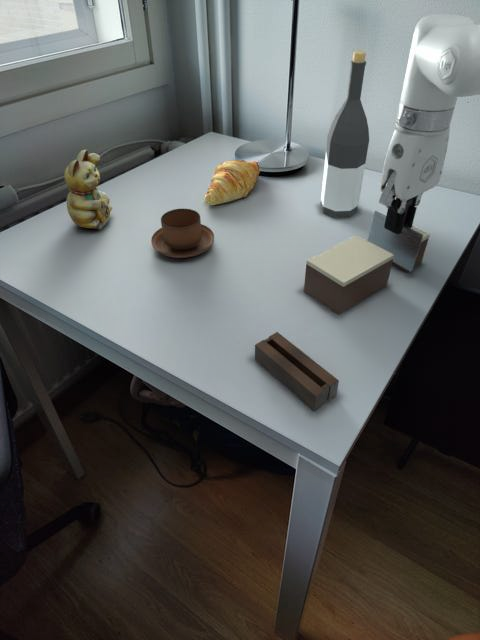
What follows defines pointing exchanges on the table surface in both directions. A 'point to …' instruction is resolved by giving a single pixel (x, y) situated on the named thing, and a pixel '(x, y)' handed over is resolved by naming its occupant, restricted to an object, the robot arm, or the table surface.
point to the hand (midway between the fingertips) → (397, 227)
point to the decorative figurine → (86, 192)
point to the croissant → (232, 181)
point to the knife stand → (296, 370)
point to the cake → (347, 273)
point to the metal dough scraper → (396, 239)
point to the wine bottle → (346, 149)
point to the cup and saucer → (182, 234)
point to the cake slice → (420, 252)
